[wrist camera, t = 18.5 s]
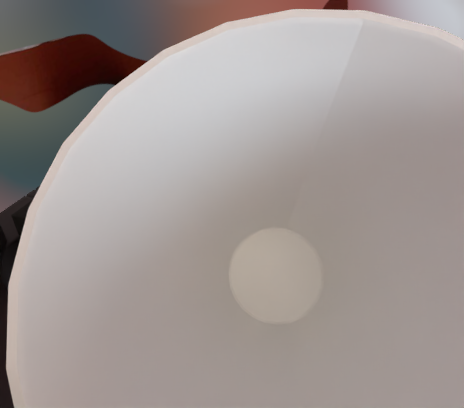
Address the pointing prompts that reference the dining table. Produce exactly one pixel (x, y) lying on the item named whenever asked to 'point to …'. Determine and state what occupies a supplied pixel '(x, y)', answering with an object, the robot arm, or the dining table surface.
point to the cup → (255, 227)
